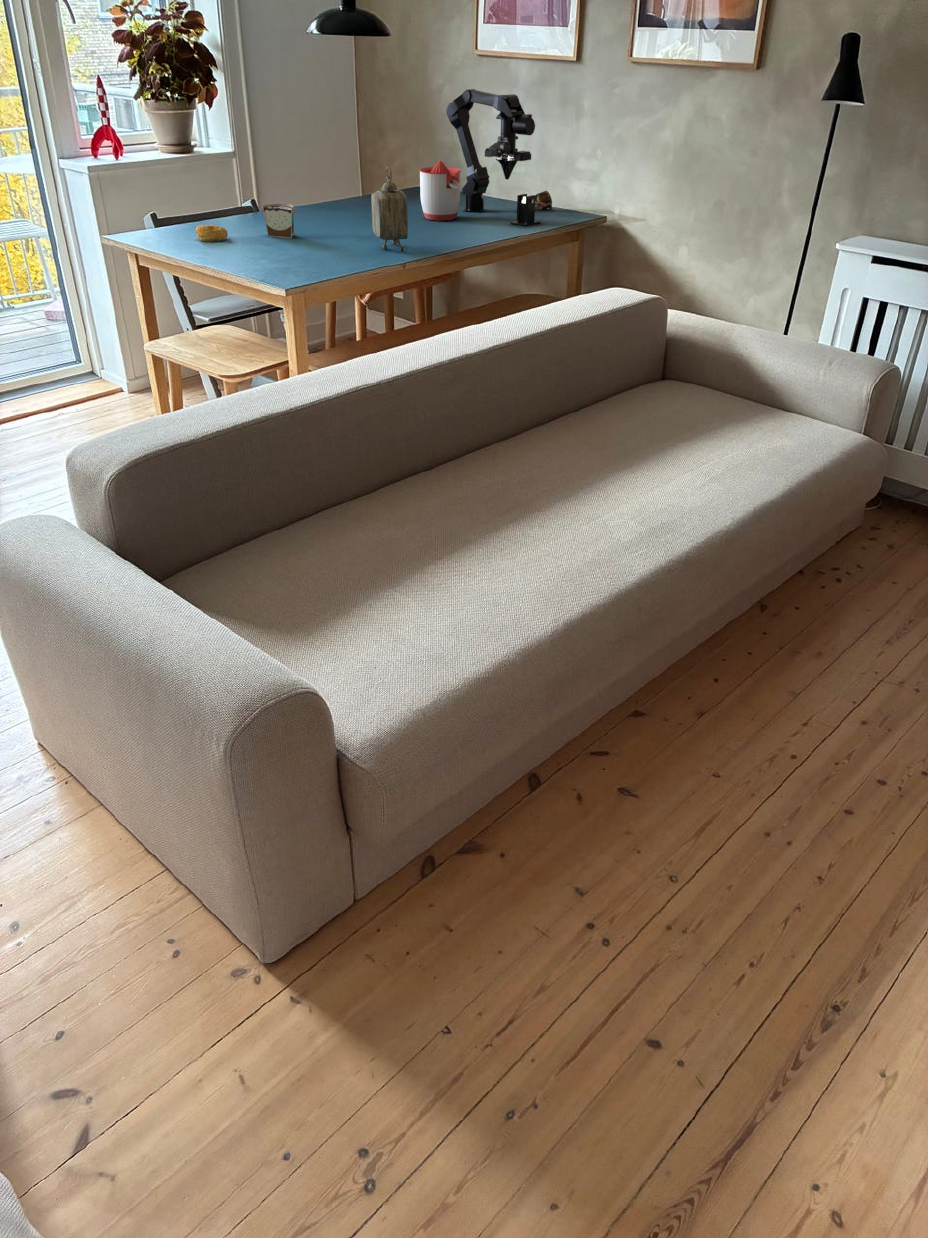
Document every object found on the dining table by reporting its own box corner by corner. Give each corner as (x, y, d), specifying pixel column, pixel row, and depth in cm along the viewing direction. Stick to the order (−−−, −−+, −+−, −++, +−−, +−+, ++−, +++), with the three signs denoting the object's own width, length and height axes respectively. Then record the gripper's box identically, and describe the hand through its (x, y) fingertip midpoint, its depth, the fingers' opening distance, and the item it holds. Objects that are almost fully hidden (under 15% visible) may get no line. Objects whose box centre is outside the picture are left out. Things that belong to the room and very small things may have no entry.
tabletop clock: (408, 252, 311) (406, 169, 297) (381, 254, 309) (378, 170, 295) (398, 243, 323) (396, 163, 309) (372, 245, 321) (368, 164, 307)
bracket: (525, 222, 356) (526, 192, 350) (540, 224, 352) (541, 194, 346) (510, 225, 350) (511, 195, 344) (524, 228, 346) (526, 197, 340)
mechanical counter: (555, 198, 368) (554, 187, 375) (522, 194, 367) (522, 184, 374) (552, 216, 373) (551, 206, 380) (519, 213, 372) (519, 202, 379)
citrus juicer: (440, 224, 350) (440, 165, 339) (411, 217, 361) (410, 160, 350) (472, 219, 359) (473, 161, 348) (442, 212, 370) (442, 156, 359)
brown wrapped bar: (534, 206, 354) (535, 199, 354) (544, 208, 352) (546, 201, 351) (518, 202, 347) (519, 195, 346) (528, 204, 344) (529, 196, 343)
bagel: (218, 243, 322) (216, 228, 319) (190, 240, 325) (188, 226, 322) (234, 237, 330) (232, 223, 327) (207, 235, 333) (205, 220, 330)
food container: (303, 235, 334) (301, 204, 328) (295, 238, 329) (293, 207, 324) (272, 232, 337) (269, 202, 332) (264, 235, 332) (261, 205, 327)
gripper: (474, 132, 350) (474, 178, 359) (513, 137, 340) (512, 184, 348) (494, 130, 357) (493, 175, 366) (533, 134, 347) (531, 180, 355)
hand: (507, 179), depth 359 cm, fingers closed
